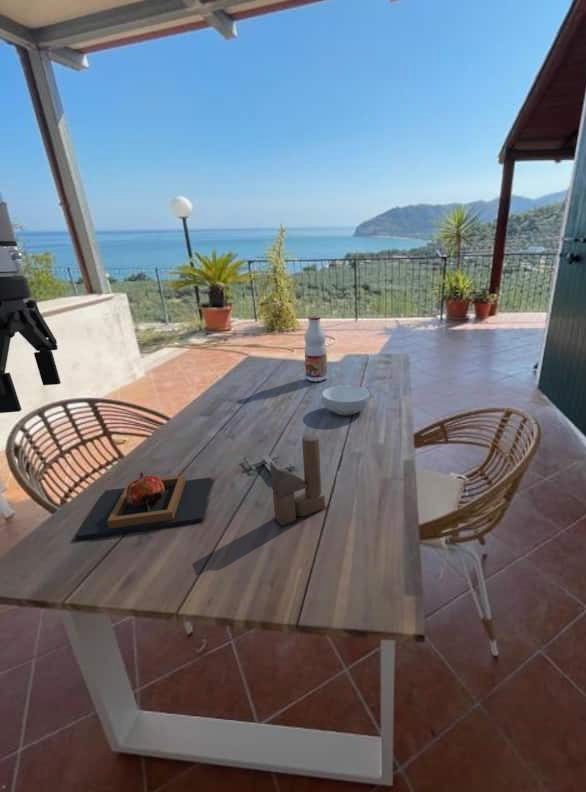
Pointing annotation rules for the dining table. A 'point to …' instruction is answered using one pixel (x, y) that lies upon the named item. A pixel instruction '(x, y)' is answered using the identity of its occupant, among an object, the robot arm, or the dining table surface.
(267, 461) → the clamp
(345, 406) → the cereal bowl
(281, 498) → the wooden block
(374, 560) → the dining table surface
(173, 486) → the back pad
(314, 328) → the fruit juice
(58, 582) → the dining table surface
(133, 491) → the red round lump
